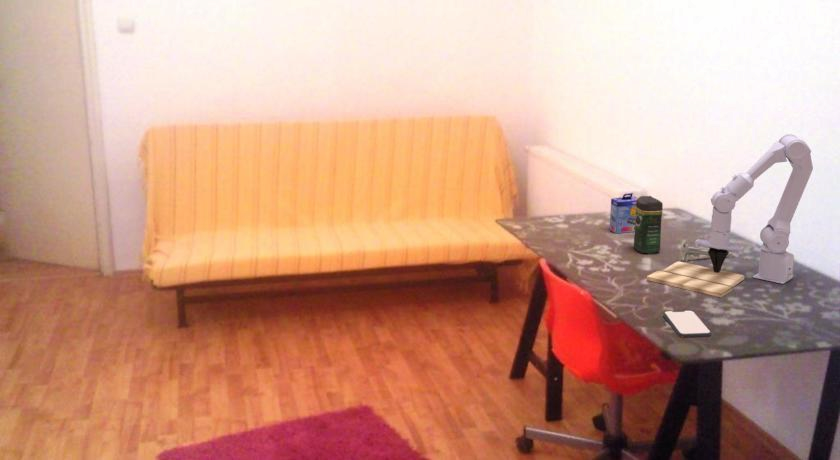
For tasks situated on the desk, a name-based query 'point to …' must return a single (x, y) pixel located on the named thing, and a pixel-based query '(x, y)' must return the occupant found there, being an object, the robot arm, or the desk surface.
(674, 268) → the loose plank
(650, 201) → the coffee jar
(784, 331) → the desk surface
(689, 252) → the caliper
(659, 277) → the laid strip
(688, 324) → the smartphone with white screen
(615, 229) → the ink cartridge box
